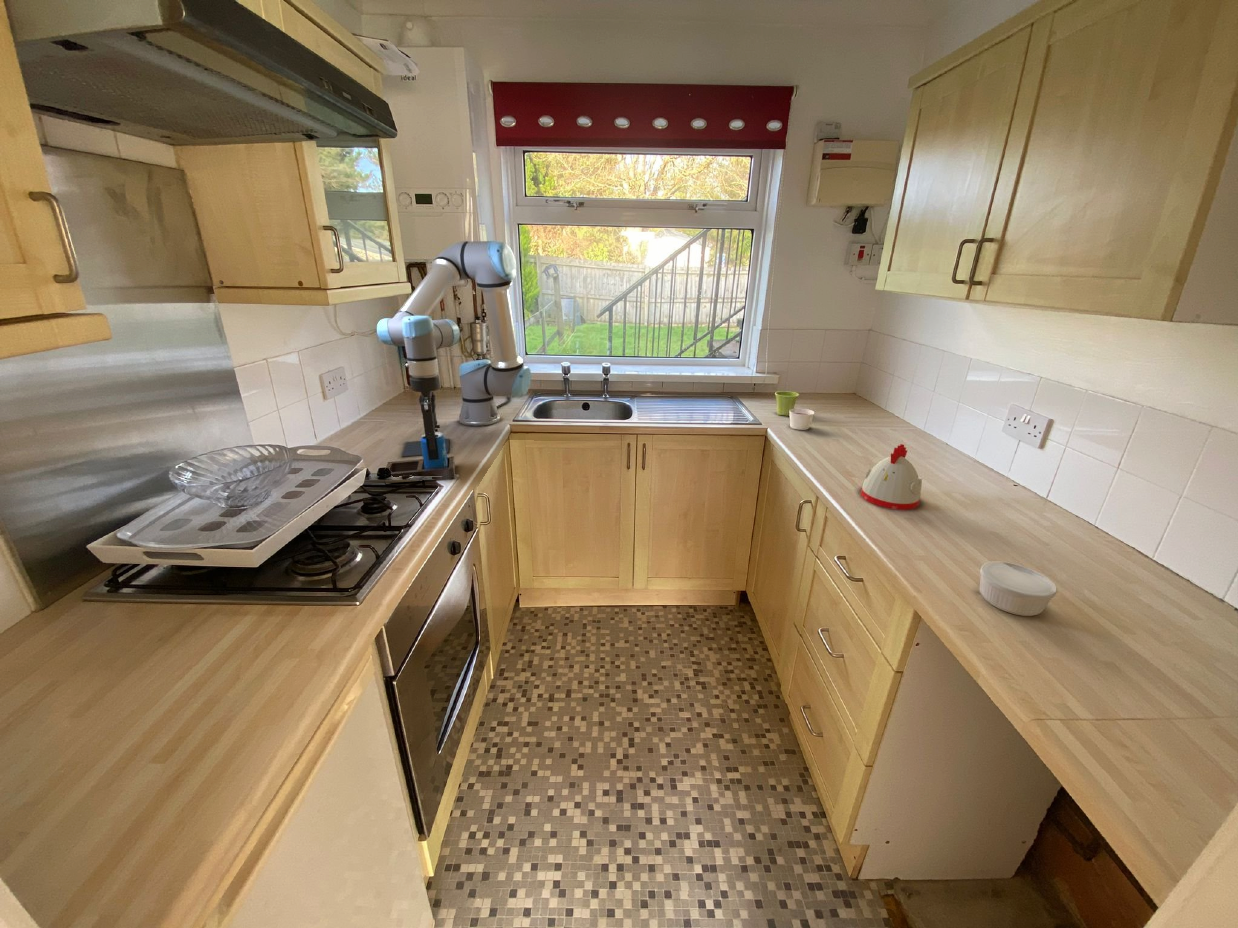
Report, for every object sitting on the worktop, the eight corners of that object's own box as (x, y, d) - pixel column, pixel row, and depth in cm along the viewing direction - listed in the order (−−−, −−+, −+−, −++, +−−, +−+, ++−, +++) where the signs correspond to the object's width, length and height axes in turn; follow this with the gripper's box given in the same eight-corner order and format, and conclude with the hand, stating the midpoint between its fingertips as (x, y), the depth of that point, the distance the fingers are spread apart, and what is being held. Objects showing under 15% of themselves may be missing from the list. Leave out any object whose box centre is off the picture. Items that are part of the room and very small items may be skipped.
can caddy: (389, 472, 149) (387, 461, 148) (455, 466, 154) (453, 456, 153) (385, 485, 140) (383, 474, 139) (454, 478, 145) (453, 468, 144)
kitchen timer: (851, 496, 137) (861, 443, 131) (875, 483, 145) (885, 433, 139) (905, 514, 127) (918, 458, 121) (927, 499, 135) (941, 446, 129)
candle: (810, 425, 197) (813, 409, 195) (813, 432, 189) (815, 415, 186) (786, 423, 199) (788, 407, 197) (787, 430, 191) (790, 413, 188)
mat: (406, 443, 173) (406, 442, 173) (449, 439, 177) (449, 438, 177) (402, 457, 161) (401, 456, 160) (448, 453, 164) (448, 452, 164)
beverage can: (441, 479, 145) (436, 439, 140) (421, 477, 146) (415, 437, 142) (452, 470, 151) (448, 432, 146) (433, 468, 152) (427, 430, 147)
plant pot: (767, 412, 213) (770, 392, 210) (785, 410, 217) (787, 390, 214) (783, 418, 205) (786, 397, 202) (801, 415, 209) (804, 395, 206)
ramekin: (1050, 600, 95) (1059, 576, 93) (1045, 629, 87) (1055, 604, 85) (979, 576, 102) (986, 554, 100) (968, 602, 94) (976, 578, 92)
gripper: (412, 369, 145) (423, 445, 154) (405, 383, 128) (418, 468, 137) (440, 368, 147) (449, 443, 156) (437, 382, 130) (447, 465, 138)
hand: (434, 454), depth 146 cm, fingers closed on beverage can, 6 cm apart
